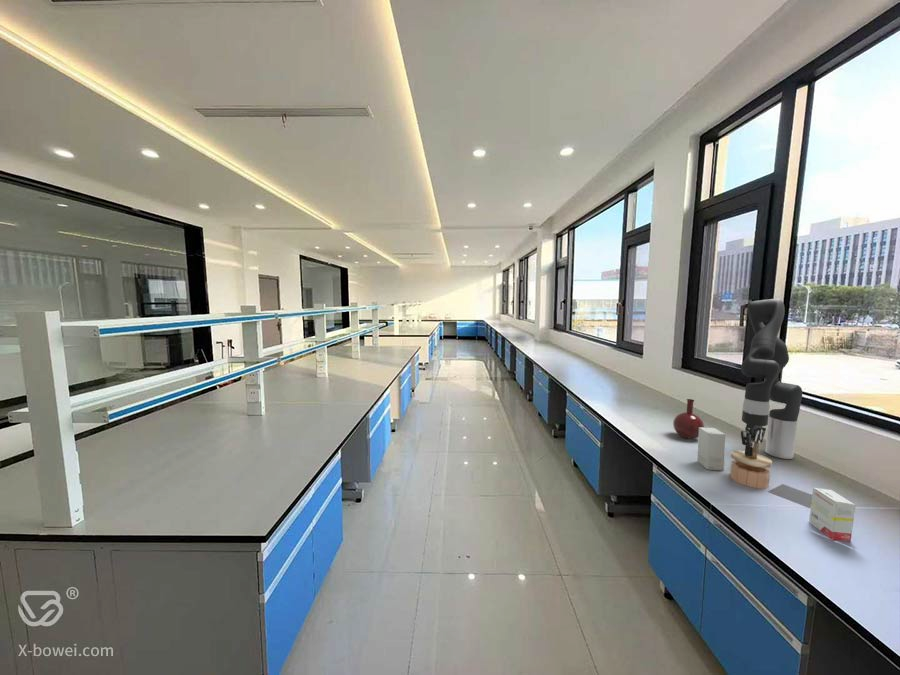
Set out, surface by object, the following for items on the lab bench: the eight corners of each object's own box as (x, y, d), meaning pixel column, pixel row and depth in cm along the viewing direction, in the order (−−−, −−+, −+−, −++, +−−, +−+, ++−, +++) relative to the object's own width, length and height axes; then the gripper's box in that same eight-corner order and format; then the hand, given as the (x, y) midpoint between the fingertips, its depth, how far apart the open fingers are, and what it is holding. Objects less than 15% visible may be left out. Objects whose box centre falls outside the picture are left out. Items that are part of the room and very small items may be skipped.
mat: (782, 484, 132) (782, 484, 131) (827, 501, 121) (827, 500, 121) (767, 492, 126) (767, 491, 126) (812, 510, 115) (812, 509, 115)
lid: (740, 451, 141) (741, 434, 140) (778, 463, 130) (780, 445, 130) (724, 456, 136) (725, 439, 135) (762, 470, 125) (764, 451, 124)
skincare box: (723, 471, 142) (727, 434, 140) (705, 469, 143) (708, 433, 142) (712, 462, 150) (715, 427, 148) (695, 460, 151) (698, 426, 150)
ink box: (852, 543, 100) (857, 504, 98) (831, 540, 101) (836, 502, 99) (826, 524, 108) (831, 488, 107) (807, 522, 109) (812, 486, 108)
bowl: (739, 472, 141) (740, 458, 141) (773, 484, 132) (775, 469, 131) (724, 478, 136) (726, 463, 136) (759, 491, 127) (761, 476, 126)
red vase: (702, 436, 179) (705, 398, 177) (704, 445, 168) (707, 405, 166) (672, 431, 186) (674, 395, 184) (672, 439, 175) (675, 400, 173)
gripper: (752, 406, 138) (748, 447, 139) (734, 410, 131) (729, 454, 133) (777, 411, 131) (772, 455, 133) (758, 416, 125) (753, 462, 126)
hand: (751, 454), depth 133 cm, fingers closed on lid, 3 cm apart
